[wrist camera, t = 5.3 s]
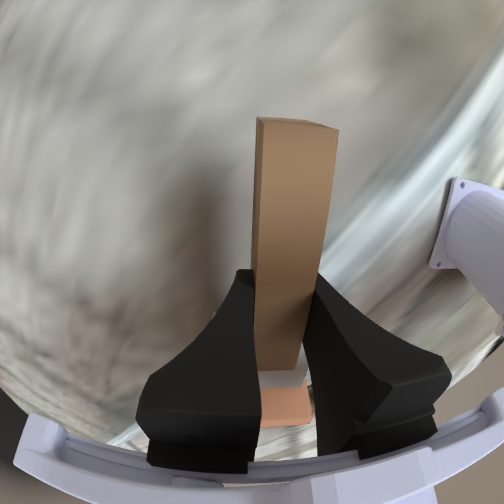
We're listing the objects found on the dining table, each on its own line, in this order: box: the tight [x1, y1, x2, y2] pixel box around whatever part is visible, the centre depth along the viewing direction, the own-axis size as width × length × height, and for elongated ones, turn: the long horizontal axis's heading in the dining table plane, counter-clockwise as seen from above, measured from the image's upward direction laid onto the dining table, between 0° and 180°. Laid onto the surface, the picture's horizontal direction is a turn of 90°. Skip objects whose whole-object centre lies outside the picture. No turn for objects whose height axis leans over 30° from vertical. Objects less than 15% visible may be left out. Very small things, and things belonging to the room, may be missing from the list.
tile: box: [260, 378, 313, 427], centre depth 20 cm, size 7×1×8 cm, turn 88°
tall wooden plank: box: [212, 117, 339, 389], centre depth 13 cm, size 17×6×4 cm, turn 178°
